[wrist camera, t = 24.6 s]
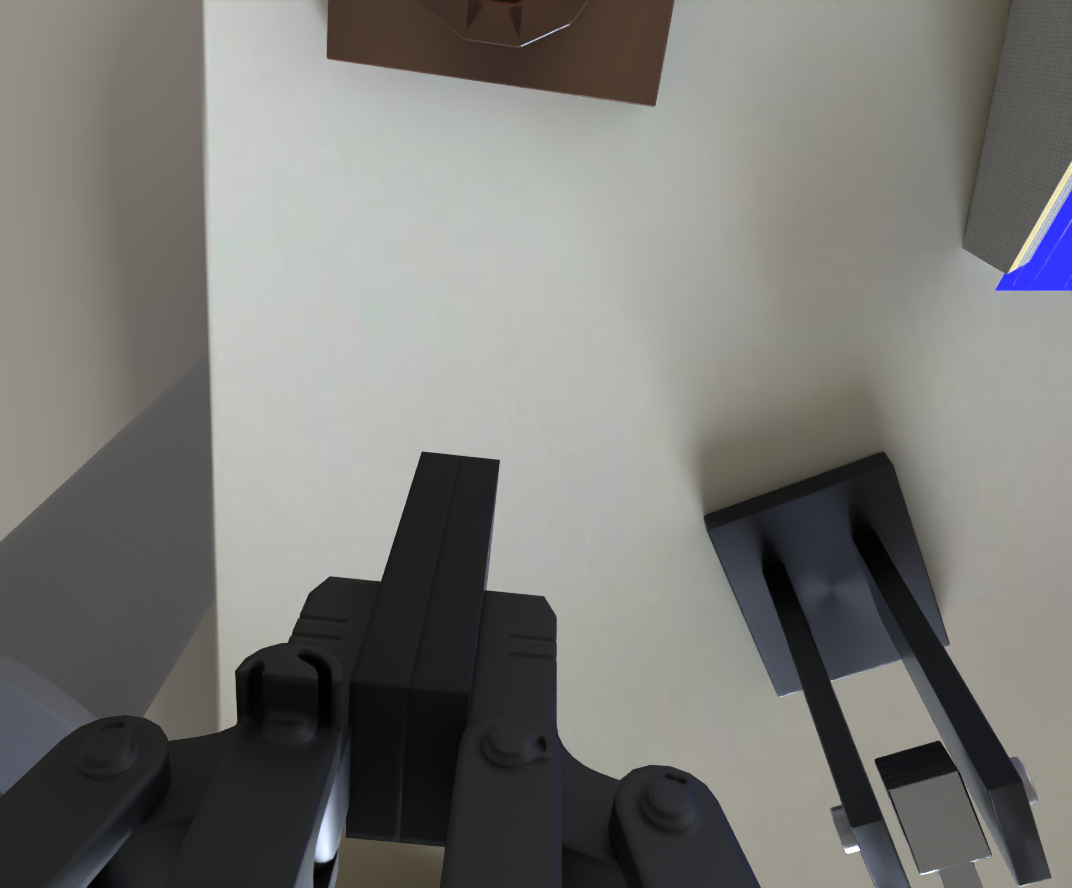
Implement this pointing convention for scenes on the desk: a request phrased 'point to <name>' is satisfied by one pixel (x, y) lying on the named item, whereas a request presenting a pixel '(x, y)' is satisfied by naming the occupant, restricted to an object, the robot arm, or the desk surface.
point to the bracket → (865, 644)
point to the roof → (1028, 154)
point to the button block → (512, 42)
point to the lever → (935, 813)
